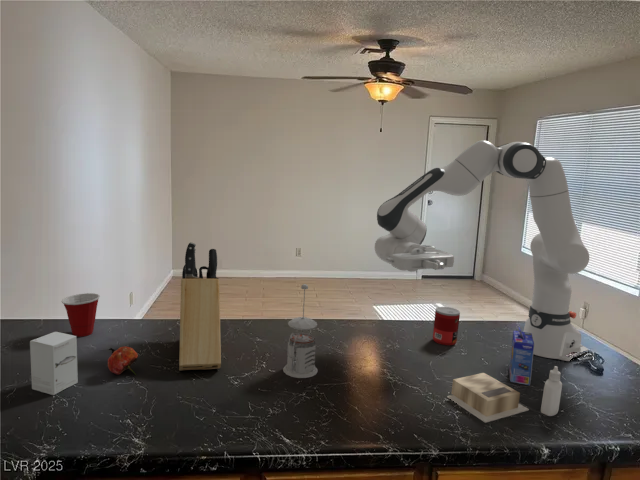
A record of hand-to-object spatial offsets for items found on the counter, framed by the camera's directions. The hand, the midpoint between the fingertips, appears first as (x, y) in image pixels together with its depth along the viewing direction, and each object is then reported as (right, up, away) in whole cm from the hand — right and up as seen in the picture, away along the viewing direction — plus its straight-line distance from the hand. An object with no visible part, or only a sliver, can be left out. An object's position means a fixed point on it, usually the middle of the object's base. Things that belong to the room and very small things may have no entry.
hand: (440, 266), depth 139 cm
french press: (-41, -29, -4) cm, 50 cm away
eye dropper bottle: (+22, -35, -19) cm, 46 cm away
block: (+5, -30, -11) cm, 33 cm away
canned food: (+7, -27, +24) cm, 37 cm away
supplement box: (-100, -29, -20) cm, 106 cm away
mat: (+8, -34, -17) cm, 39 cm away
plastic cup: (-110, -22, +14) cm, 113 cm away
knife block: (-71, -26, +7) cm, 76 cm away
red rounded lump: (-87, -28, -11) cm, 92 cm away
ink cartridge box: (+23, -32, 0) cm, 39 cm away
